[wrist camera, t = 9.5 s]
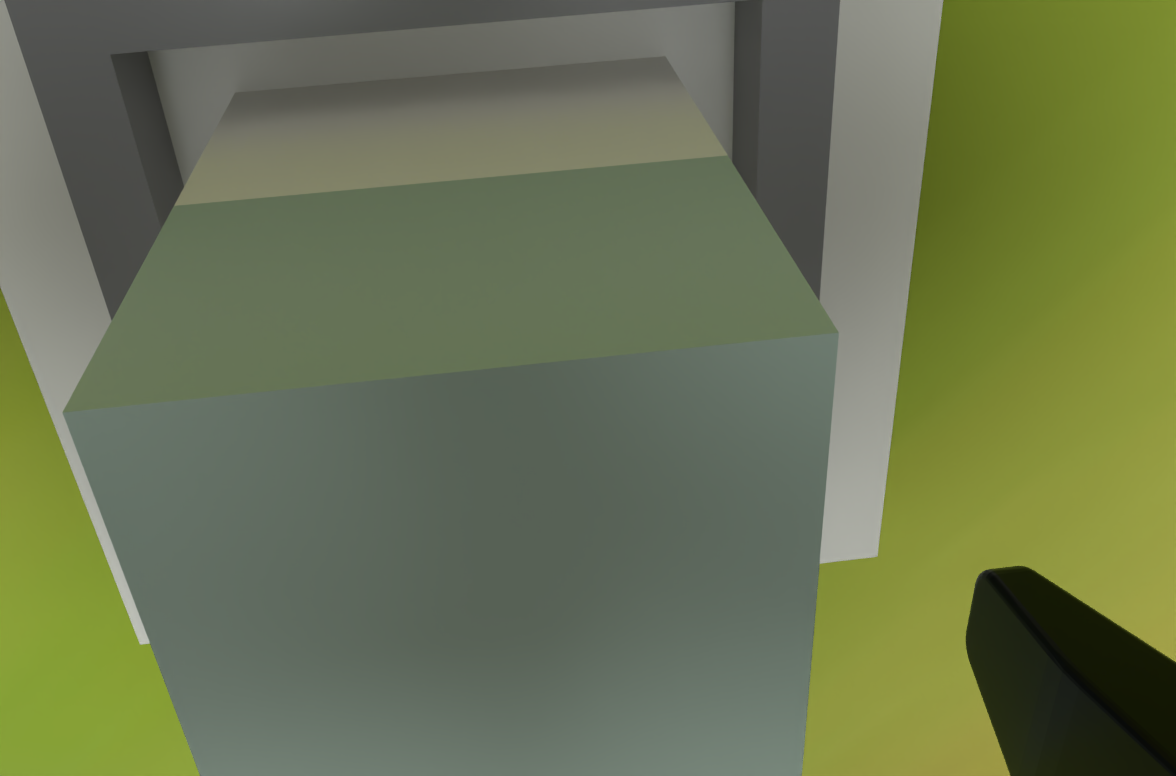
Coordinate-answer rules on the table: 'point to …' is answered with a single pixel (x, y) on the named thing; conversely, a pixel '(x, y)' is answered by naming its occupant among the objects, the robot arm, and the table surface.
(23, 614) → the table surface
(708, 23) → the socket plate
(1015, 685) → the robot arm
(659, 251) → the grey green box
